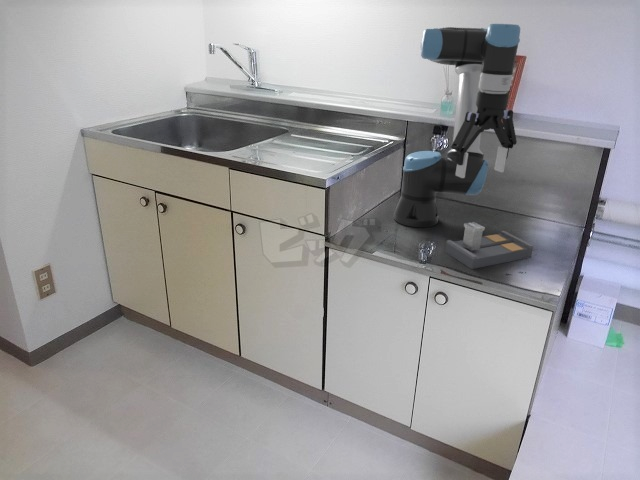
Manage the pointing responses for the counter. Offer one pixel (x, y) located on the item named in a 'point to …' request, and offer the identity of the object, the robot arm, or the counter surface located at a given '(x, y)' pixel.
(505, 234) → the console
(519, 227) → the counter surface
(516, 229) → the counter surface
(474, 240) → the fader knob
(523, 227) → the counter surface
